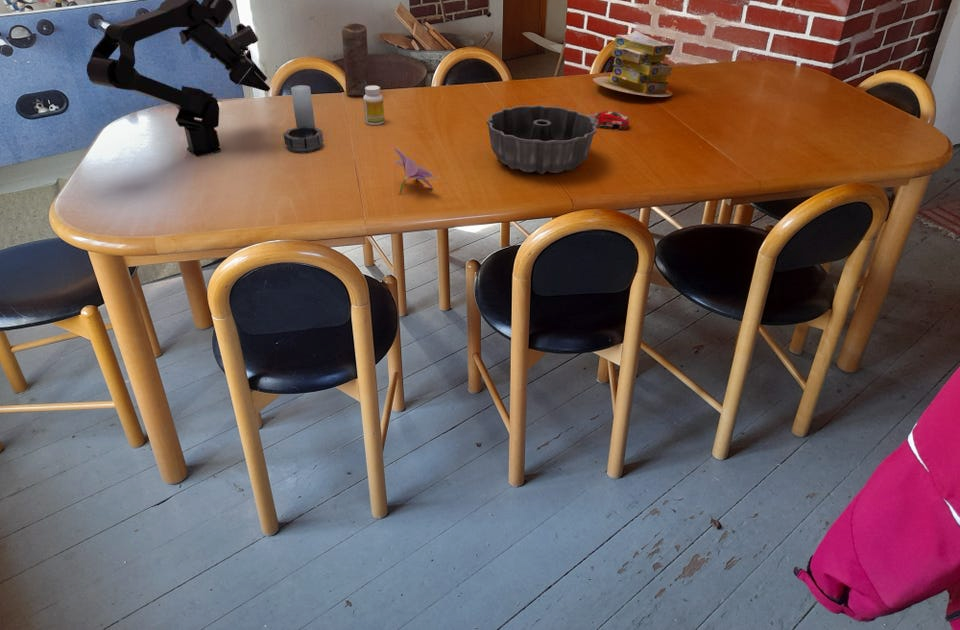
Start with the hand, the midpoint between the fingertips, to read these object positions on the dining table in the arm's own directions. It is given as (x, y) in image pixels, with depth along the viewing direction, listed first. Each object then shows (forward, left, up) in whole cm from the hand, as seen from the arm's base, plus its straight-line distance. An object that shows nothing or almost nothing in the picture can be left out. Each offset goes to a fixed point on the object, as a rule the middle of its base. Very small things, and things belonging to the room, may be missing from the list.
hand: (267, 84), depth 176 cm
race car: (+74, -49, -14) cm, 90 cm away
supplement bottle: (+26, -7, -14) cm, 31 cm away
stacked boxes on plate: (+105, -34, -14) cm, 111 cm away
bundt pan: (+42, -56, -14) cm, 72 cm away
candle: (+36, +17, -14) cm, 42 cm away
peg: (+7, -3, -13) cm, 16 cm away
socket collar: (+2, -11, -13) cm, 18 cm away
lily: (+8, -50, -14) cm, 53 cm away
